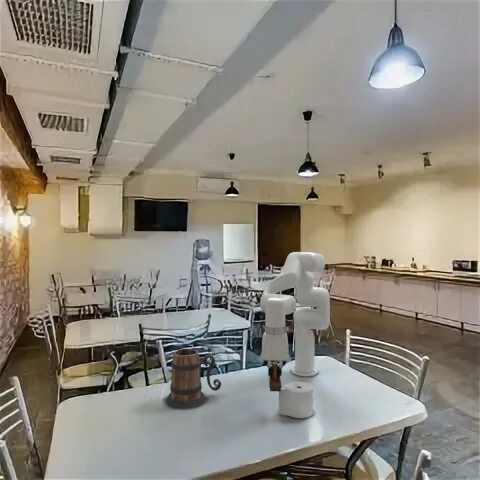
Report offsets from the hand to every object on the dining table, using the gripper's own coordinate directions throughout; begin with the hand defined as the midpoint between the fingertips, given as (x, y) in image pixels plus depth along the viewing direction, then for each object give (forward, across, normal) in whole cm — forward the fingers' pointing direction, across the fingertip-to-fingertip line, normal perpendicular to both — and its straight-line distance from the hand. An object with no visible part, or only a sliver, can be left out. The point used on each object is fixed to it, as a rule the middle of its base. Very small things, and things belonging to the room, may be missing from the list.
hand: (274, 377), depth 158 cm
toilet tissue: (+14, -9, 0) cm, 17 cm away
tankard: (+14, +33, -11) cm, 38 cm away
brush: (+4, 0, 0) cm, 4 cm away
